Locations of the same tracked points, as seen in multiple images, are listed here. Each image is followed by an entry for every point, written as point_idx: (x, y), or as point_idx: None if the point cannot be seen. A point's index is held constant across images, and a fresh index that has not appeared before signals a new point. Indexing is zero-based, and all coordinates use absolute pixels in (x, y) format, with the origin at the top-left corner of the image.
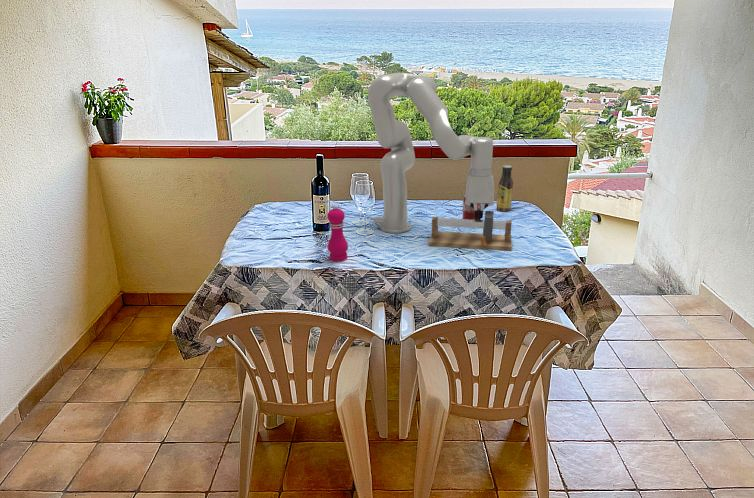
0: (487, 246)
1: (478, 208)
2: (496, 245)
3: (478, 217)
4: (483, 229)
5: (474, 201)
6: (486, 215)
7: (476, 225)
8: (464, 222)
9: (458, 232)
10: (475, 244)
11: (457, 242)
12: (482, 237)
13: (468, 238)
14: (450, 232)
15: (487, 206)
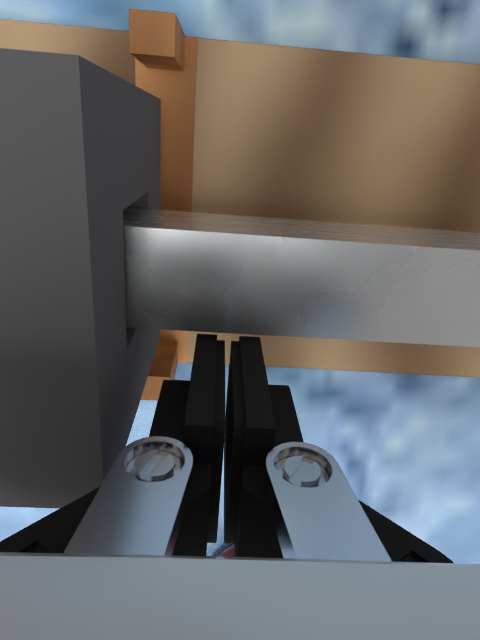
0: (121, 32)
1: (234, 555)
2: (20, 41)
3: (226, 412)
4: (169, 365)
5: (462, 626)
6: (52, 234)
7: (255, 224)
8: (445, 244)
9: (389, 372)
10: (252, 57)
11: (438, 105)
12: (169, 18)
13: None
14: (459, 366)
15: (9, 538)
